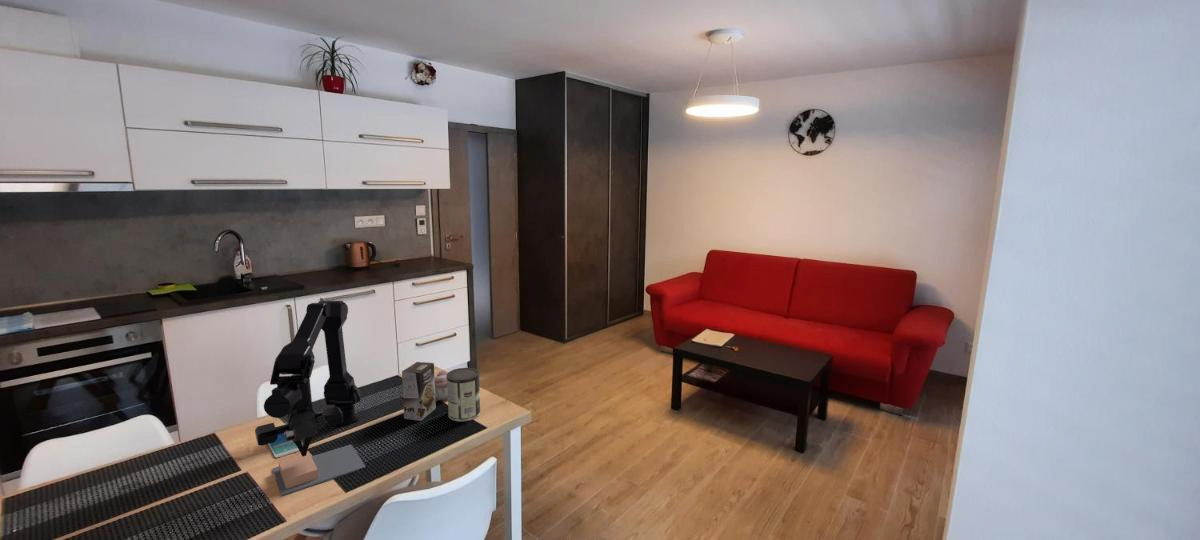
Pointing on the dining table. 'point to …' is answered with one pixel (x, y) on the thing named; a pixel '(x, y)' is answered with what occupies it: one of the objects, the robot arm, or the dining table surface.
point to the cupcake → (441, 386)
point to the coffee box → (418, 390)
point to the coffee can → (463, 394)
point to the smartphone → (283, 447)
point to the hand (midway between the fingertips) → (303, 455)
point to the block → (298, 470)
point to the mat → (326, 468)
